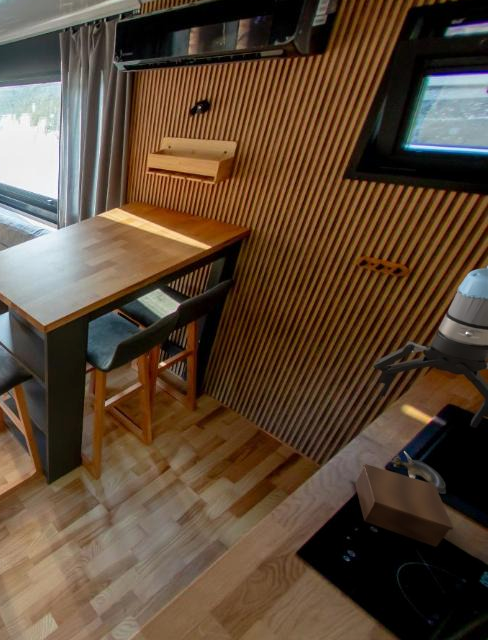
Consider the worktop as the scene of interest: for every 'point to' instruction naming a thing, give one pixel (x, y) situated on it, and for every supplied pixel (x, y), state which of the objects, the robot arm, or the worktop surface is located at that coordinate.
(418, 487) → the walnut pedestal
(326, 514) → the worktop surface
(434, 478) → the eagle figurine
